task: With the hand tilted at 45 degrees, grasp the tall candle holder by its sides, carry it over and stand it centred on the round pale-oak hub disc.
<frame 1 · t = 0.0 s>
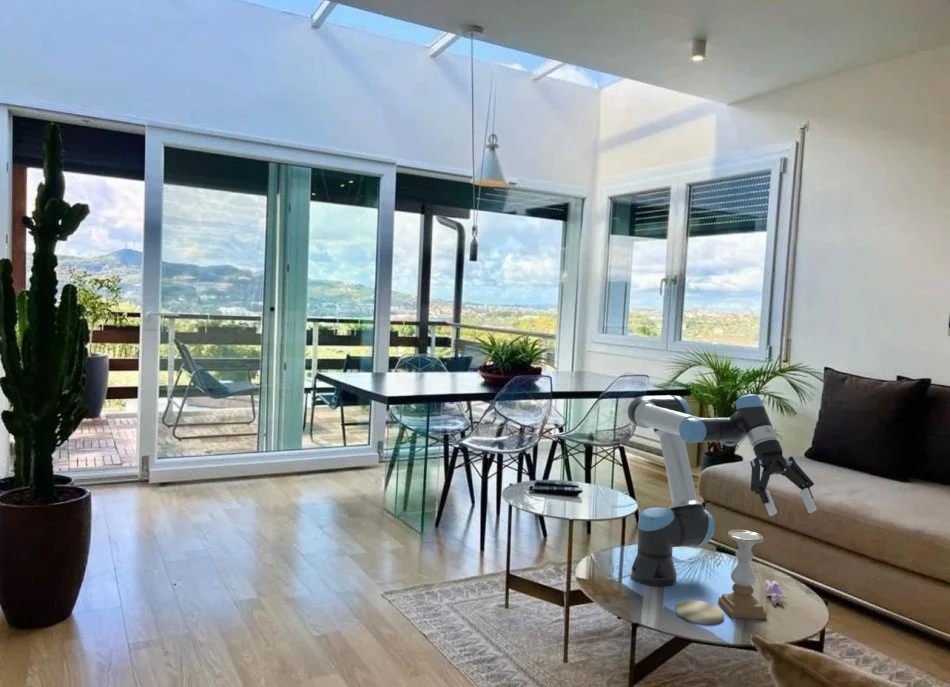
hand: (793, 513, 190), 36 cm above the table, tool tilted 35°, fingers open, 13 cm apart
hub disc: (699, 613, 206), on the table
candle holder: (741, 611, 209), on the table
purple toy figure: (774, 598, 220), on the table
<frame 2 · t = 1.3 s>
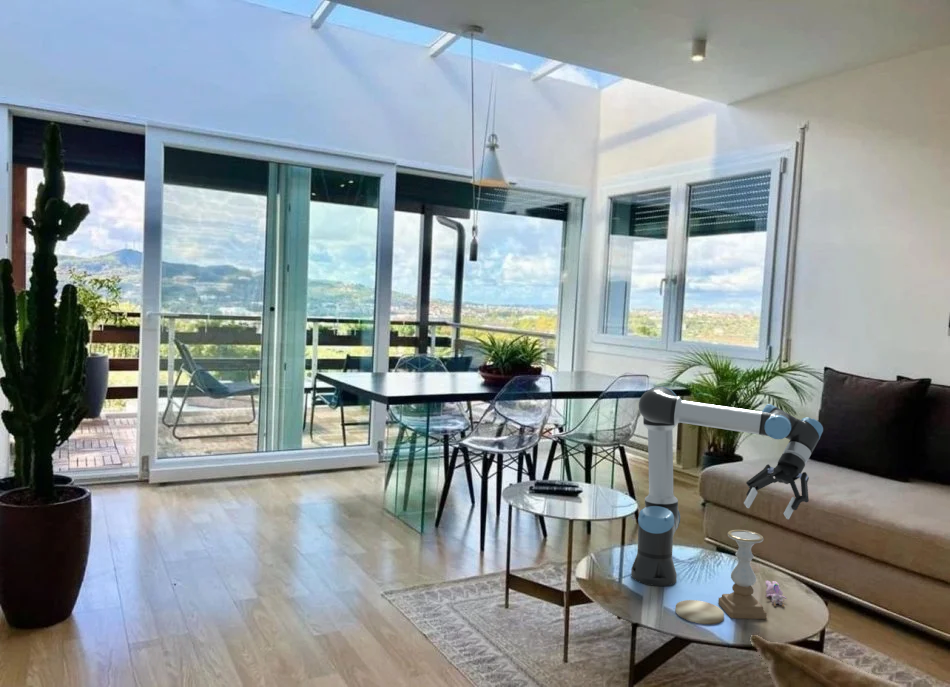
hand: (765, 511, 213), 30 cm above the table, tool tilted 45°, fingers open, 13 cm apart
nothing on the table moved.
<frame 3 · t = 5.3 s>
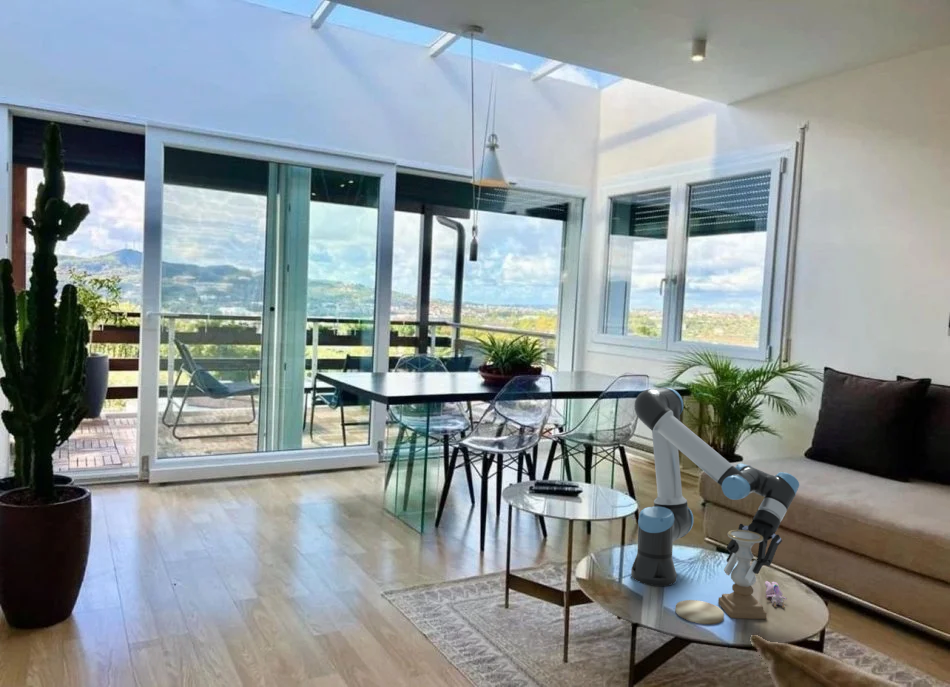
hand: (736, 576, 206), 11 cm above the table, tool tilted 45°, fingers closed on candle holder, 6 cm apart
candle holder: (741, 611, 209), on the table, touching gripper
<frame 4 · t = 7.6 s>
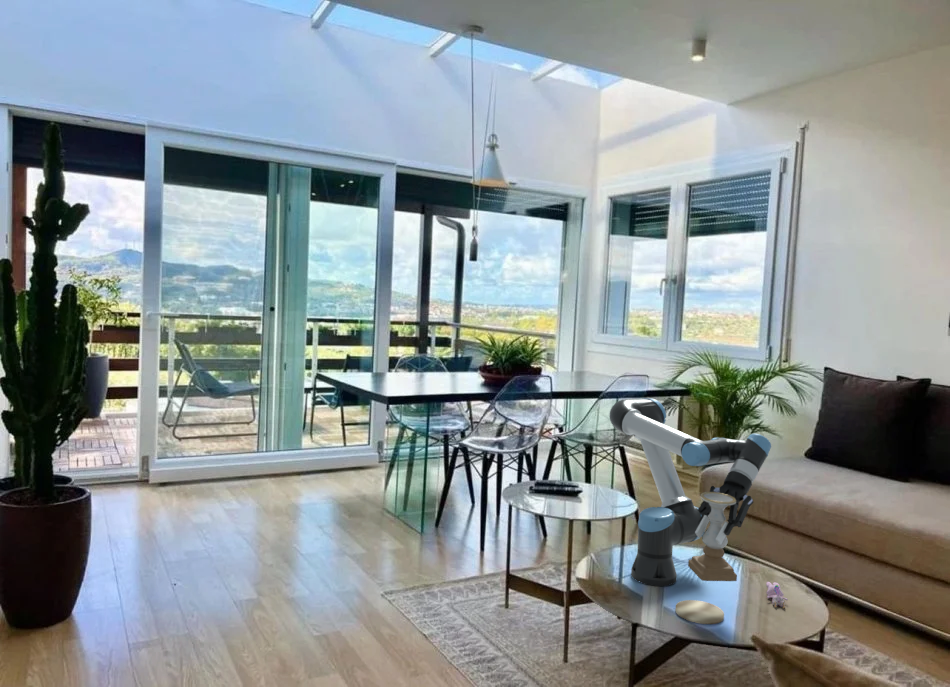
hand: (707, 538, 203), 24 cm above the table, tool tilted 45°, fingers closed on candle holder, 6 cm apart
candle holder: (711, 573, 206), point 12 cm above the table, touching gripper
when the fingers open (14 cm above the table, at t = 10.2 s): candle holder stays where it is, resting on hub disc.
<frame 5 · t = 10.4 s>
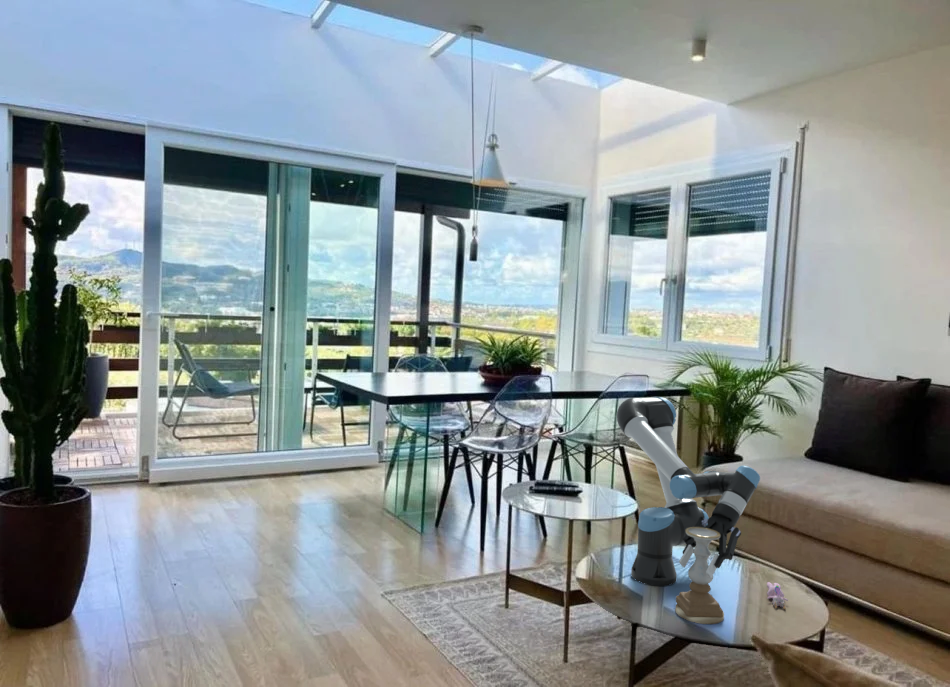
hand: (694, 569, 203), 14 cm above the table, tool tilted 45°, fingers open, 9 cm apart
candle holder: (698, 609, 206), point 1 cm above the table, touching hub disc
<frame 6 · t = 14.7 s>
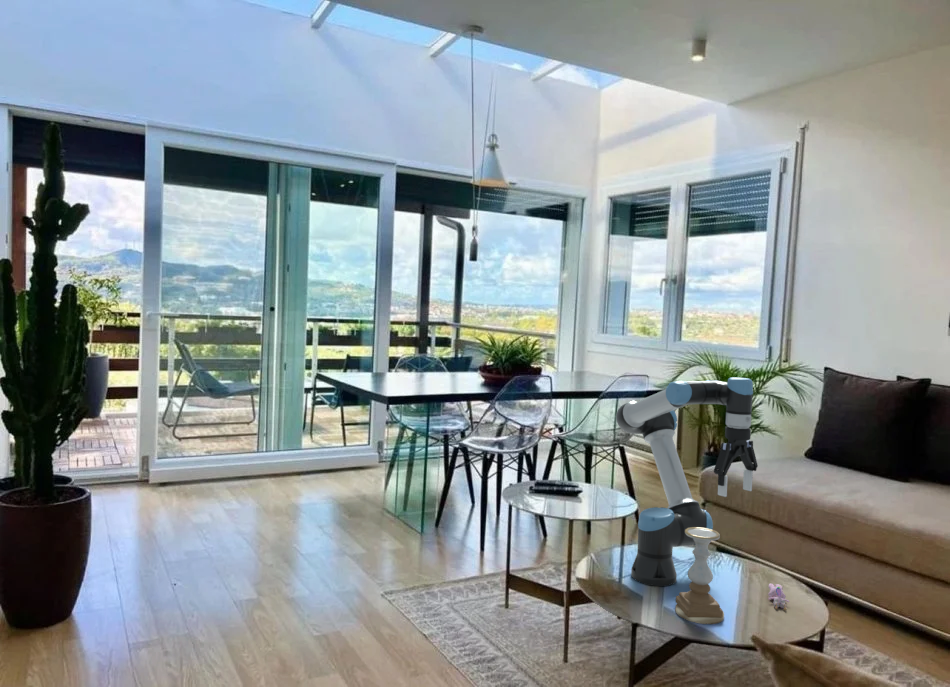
hand: (734, 493, 215), 35 cm above the table, tool pointing down, fingers open, 13 cm apart
at the end: candle holder 0.3 cm from the hub disc (horizontally); candle holder tilted 0°; candle holder point 1.0 cm above the table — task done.
